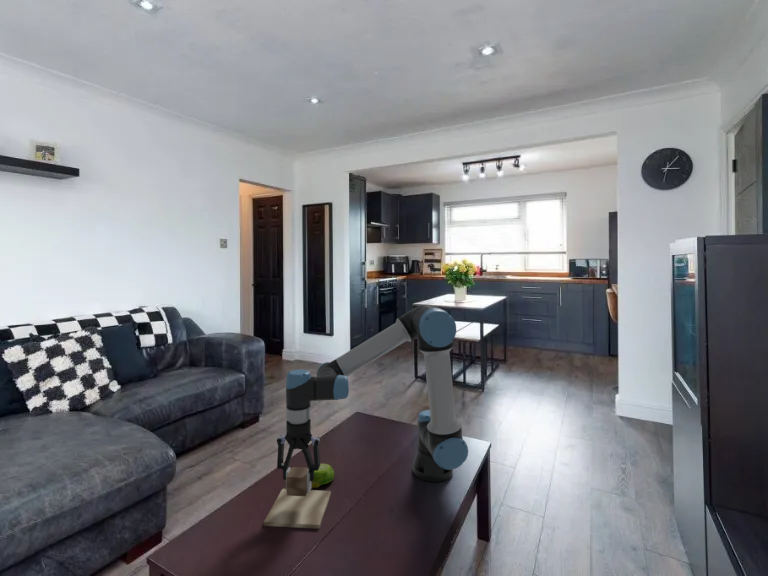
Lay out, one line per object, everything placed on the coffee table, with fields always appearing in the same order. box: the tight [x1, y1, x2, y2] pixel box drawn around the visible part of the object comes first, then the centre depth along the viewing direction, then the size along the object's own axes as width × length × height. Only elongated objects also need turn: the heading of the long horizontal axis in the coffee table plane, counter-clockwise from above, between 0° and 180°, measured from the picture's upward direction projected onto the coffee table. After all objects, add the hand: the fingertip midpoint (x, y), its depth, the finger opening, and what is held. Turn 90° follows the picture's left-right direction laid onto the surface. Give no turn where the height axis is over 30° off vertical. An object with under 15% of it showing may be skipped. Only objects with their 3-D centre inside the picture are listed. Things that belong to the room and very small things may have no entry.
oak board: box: [263, 488, 332, 530], centre depth 125 cm, size 17×17×1 cm
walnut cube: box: [287, 466, 308, 496], centre depth 125 cm, size 6×6×6 cm
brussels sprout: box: [311, 463, 335, 489], centre depth 142 cm, size 12×11×5 cm
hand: (298, 489), depth 125 cm, fingers closed on walnut cube, 6 cm apart
